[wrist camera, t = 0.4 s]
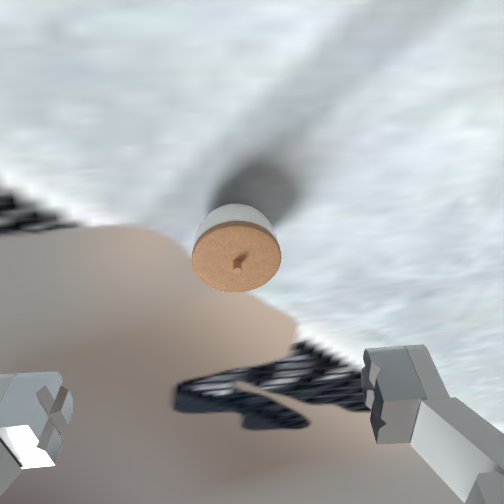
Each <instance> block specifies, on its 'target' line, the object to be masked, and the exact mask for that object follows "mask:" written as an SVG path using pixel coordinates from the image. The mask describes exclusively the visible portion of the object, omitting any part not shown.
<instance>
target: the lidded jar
mask: <svg viewBox="0 0 504 504" xmlns="http://www.w3.org/2000/svg"><path fill="white" fill-rule="evenodd" d="M280 263H281V251H280V247H279V244H278V241H277V237H276V234H275V231H274V229H273V227H272V225H271V223H270V222H269V220H268V219H267V218H266V217H265V216H264V215H263V214H262V213H261V212H260V211H258V210H257V209H255V208H253V207H251V206H248V205H244V204H236V203H235V204H227V205H223V206H220V207H218V208H216V209H214V210H213V211H211V212H210V213H209V214H208V215H207V216H206V217H205V218H204V219H203V221H202V222H201V224H200V226H199V228H198V230H197V233H196V236H195V240H194V248H193V252H192V265H193V268H194V271H195V273H196V274H197V276H198V277H199V278H200V279H201V280H202V281H203V282H204V283H205V284H207V285H209V286H210V287H213V288H215V289H217V290H221V291H226V292H245V291H250V290H253V289H256V288H258V287H260V286H262V285H264V284H265V283H267V282H268V281H269V280H270V279H271V278H272V277H273V276H274V275H275V274H276V272H277V271H278V269H279V266H280Z"/></svg>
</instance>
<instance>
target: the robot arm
mask: <svg viewBox="0 0 504 504" xmlns="http://www.w3.org/2000/svg"><path fill="white" fill-rule="evenodd" d="M363 360H364V363H365V367H364V368H363V369H362V374H361V382H362V391H363V396H364V400H365V404H366V406H368V407H369V408H370V409H371V416H370V422H371V425H372V429H373V433H374V436H375V440H376V443H377V444H394V443H410V445H411V446H412V447H413V448H414V449H415V450H416V451H417V453H418V454H419V455H420V456H421V457H422V458H423V459H424V460H425V461H426V462H427V463H428V464H429V465H430V467H432V469H433V470H434V471H435V472H436V473H437V474H438V475H439V476H440V477H441V478H442V479H443V481H444V482H445V483H446V484H447V485H448V486H449V487H450V488H451V489H452V490H453V491H454V492H455V493H456V494H457V496H458V497H459V498H460V499H461V500H462V501H463V502H464V504H504V434H503V433H502V432H500V431H499V430H498V429H496V428H495V427H494V426H493V425H491V424H490V423H489V422H487V421H486V420H485V419H483V418H482V417H481V416H479V415H478V414H477V413H476V412H474V411H473V410H472V409H470V408H469V407H468V406H466V405H465V404H464V403H463V402H461V401H460V400H459V399H457V398H450V397H449V394H448V392H447V390H446V388H445V386H444V384H443V381H442V379H441V377H440V375H439V373H438V371H437V369H436V366H435V364H434V362H433V360H432V358H431V356H430V354H429V351H428V349H427V347H426V346H424V345H409V346H392V347H380V348H369V349H365V351H364V355H363ZM62 381H63V379H62V377H61V376H60V374H59V372H40V373H18V374H2V375H0V496H1V494H2V493H3V492H4V491H5V490H6V489H7V487H8V486H9V485H10V484H11V483H12V482H13V481H14V480H15V478H16V477H17V476H18V475H19V474H20V472H22V468H32V467H43V466H54V465H55V463H56V460H57V457H58V455H59V452H60V449H61V445H62V443H63V439H62V437H61V434H60V433H61V432H62V431H63V430H64V429H65V428H66V427H67V426H68V425H69V423H70V420H71V417H72V410H73V401H72V396H71V394H70V392H69V390H68V389H66V388H64V387H62V386H61V383H62Z"/></svg>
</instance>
